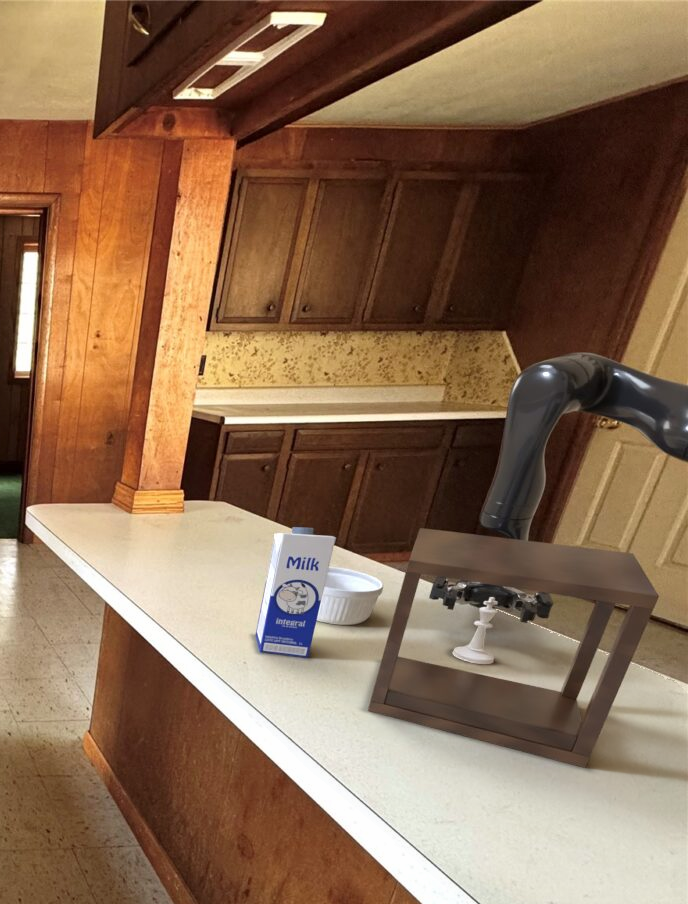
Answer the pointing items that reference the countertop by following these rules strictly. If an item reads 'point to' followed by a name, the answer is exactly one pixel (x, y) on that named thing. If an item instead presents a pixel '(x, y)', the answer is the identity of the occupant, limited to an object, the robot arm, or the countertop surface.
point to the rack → (502, 701)
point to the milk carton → (293, 592)
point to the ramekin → (348, 596)
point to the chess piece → (478, 638)
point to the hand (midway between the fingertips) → (488, 610)
